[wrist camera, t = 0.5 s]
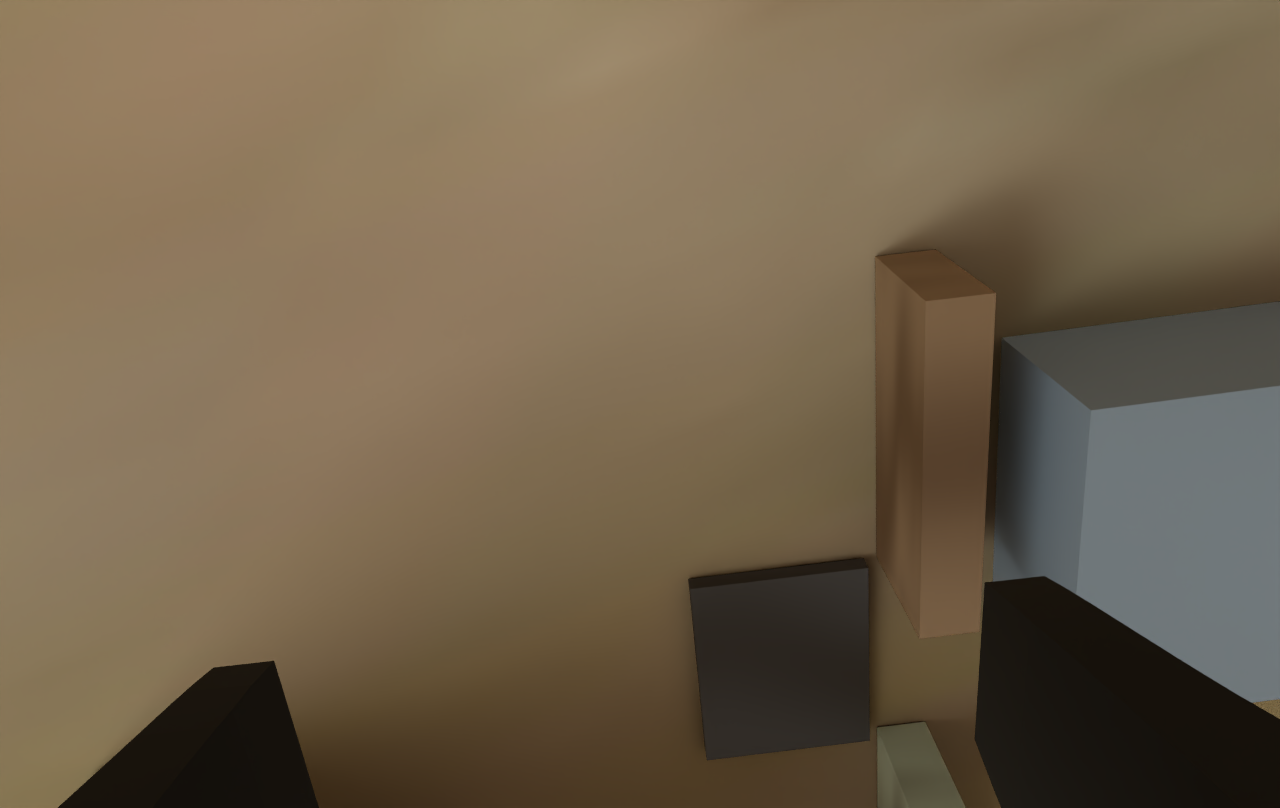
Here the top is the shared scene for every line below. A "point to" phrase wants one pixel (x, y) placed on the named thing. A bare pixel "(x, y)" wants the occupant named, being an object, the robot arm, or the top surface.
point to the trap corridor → (905, 547)
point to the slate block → (1152, 481)
